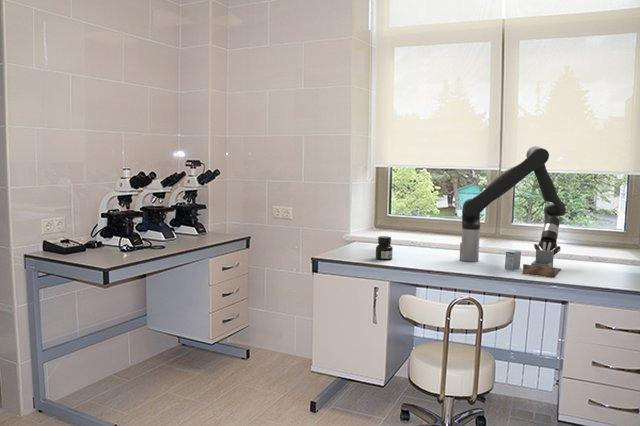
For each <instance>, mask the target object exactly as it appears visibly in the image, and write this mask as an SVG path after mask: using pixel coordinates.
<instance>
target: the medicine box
mask: <svg viewBox="0 0 640 426" xmlns="http://www.w3.org/2000/svg"><path fill="white" fill-rule="evenodd" d="M521 256H522V251H520V250H516V249H515V250H514V249H512V250H508V251H506V252H505V263H504V269H505V270H511V271H514V270H516V269H517V270H518V269H520V267H521V260H522V259H521V258H522V257H521Z"/></svg>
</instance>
